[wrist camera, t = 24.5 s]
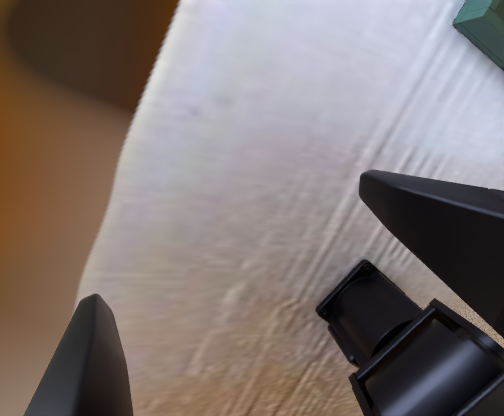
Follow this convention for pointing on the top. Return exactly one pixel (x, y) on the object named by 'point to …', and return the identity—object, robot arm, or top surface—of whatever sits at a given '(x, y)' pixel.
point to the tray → (484, 26)
